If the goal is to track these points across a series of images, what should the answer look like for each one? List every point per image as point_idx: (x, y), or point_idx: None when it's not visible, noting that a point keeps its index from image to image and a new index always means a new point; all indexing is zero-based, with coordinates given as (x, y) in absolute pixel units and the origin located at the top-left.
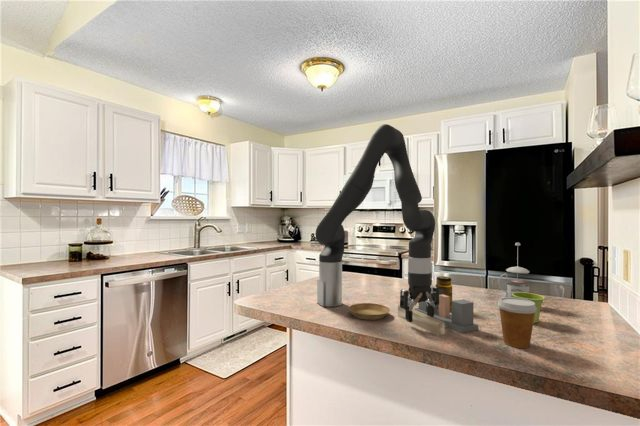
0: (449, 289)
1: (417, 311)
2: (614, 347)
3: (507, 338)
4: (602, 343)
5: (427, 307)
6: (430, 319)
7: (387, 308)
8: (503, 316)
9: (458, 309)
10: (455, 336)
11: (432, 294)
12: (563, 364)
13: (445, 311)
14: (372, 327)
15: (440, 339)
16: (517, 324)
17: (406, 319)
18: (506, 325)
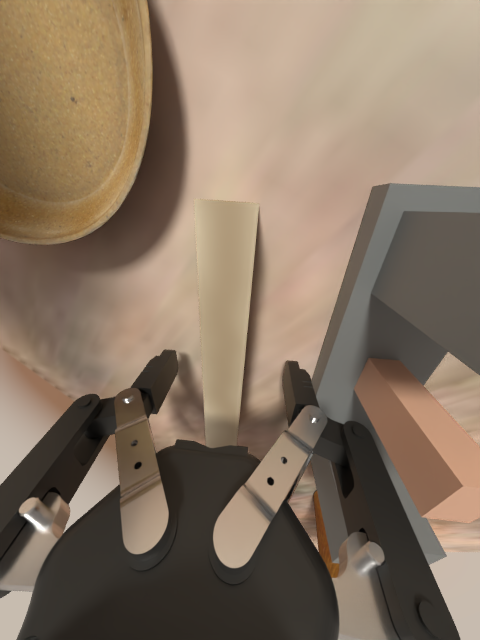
0: None
1: (237, 363)
2: (461, 544)
3: (316, 510)
4: (474, 538)
5: (293, 400)
6: (212, 439)
7: (144, 91)
8: None
9: (327, 514)
10: (257, 440)
11: (361, 511)
12: (308, 527)
13: (370, 415)
14: (20, 291)
15: (204, 435)
16: None
17: (155, 360)
18: (321, 554)
